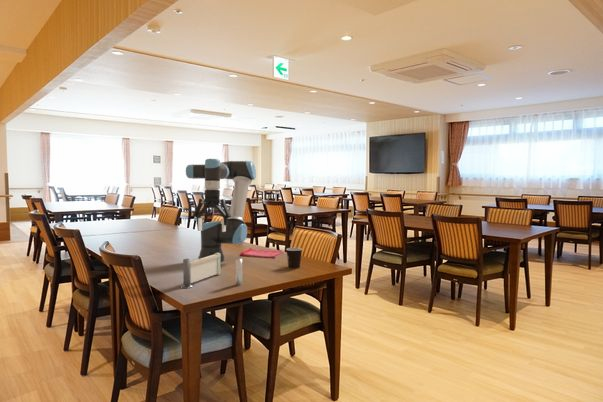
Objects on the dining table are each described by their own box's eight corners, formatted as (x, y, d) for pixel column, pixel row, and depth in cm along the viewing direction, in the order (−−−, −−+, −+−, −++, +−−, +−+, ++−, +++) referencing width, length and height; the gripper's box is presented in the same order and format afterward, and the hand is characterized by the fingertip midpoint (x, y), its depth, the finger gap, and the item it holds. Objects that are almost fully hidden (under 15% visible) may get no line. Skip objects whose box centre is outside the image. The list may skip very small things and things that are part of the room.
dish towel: (250, 251, 265) (250, 247, 265) (283, 253, 258) (283, 249, 258) (239, 256, 249) (239, 252, 248) (274, 259, 242) (274, 255, 242)
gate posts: (179, 289, 177) (179, 263, 176) (180, 285, 184) (179, 259, 183) (242, 285, 184) (242, 259, 183) (241, 281, 191) (240, 256, 190)
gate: (187, 286, 180) (186, 260, 179) (182, 285, 181) (181, 259, 180) (221, 273, 202) (221, 250, 202) (216, 272, 204) (216, 250, 203)
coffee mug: (300, 269, 215) (300, 251, 214) (284, 268, 216) (284, 250, 216) (304, 264, 226) (304, 247, 225) (289, 263, 228) (289, 246, 227)
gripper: (186, 189, 201) (186, 230, 201) (231, 189, 194) (230, 232, 194) (194, 189, 208) (194, 229, 208) (237, 189, 201) (237, 231, 201)
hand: (211, 231), depth 201 cm, fingers open, 13 cm apart
